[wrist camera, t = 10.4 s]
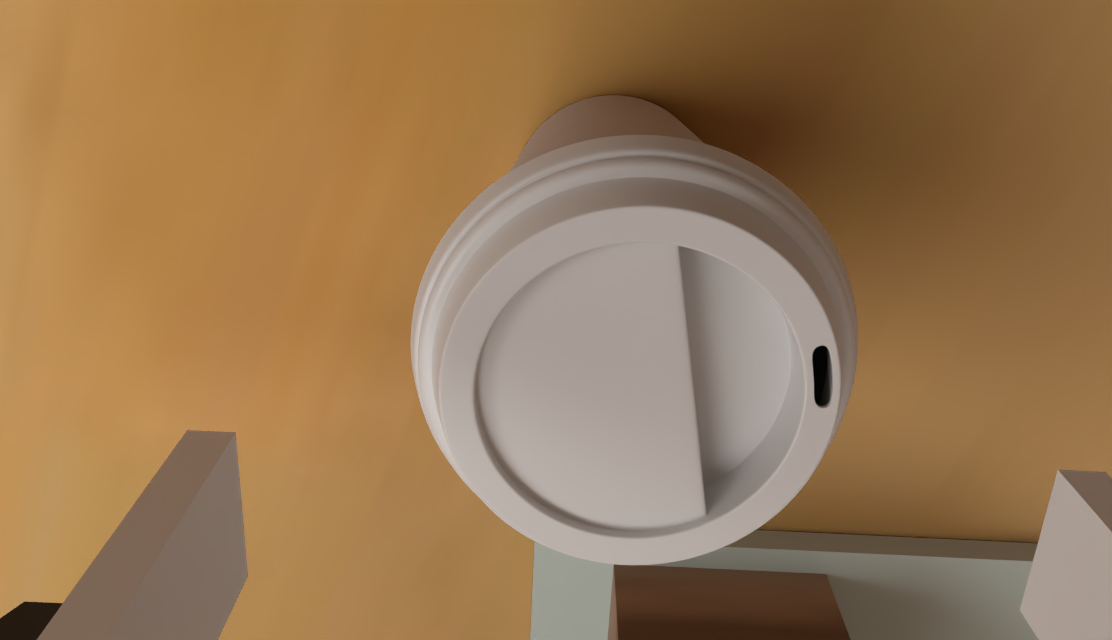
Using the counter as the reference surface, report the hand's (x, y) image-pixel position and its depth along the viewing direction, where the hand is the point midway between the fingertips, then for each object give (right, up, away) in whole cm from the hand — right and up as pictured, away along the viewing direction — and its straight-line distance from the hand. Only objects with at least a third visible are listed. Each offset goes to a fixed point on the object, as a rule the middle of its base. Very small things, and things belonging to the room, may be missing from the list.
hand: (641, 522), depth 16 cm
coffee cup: (0, +8, +17) cm, 19 cm away
